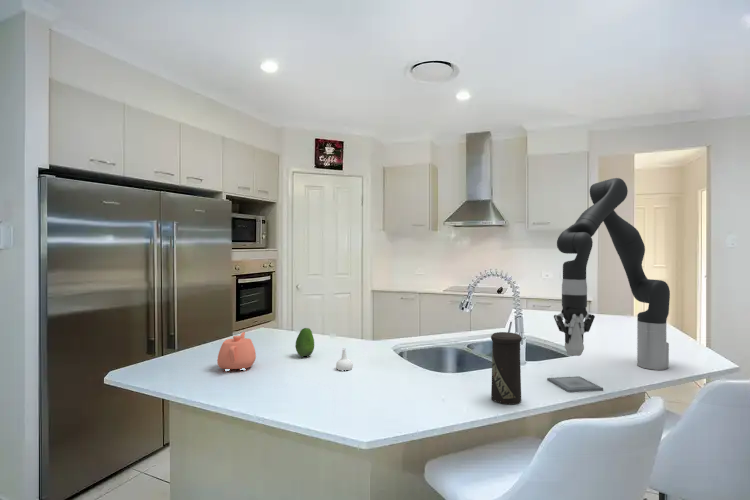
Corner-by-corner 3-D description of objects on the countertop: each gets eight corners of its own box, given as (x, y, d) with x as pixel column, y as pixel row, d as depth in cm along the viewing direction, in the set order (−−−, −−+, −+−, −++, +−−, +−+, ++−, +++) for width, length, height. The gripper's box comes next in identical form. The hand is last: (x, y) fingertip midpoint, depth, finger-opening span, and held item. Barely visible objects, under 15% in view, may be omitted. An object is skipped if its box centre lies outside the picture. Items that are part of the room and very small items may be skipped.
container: (486, 395, 128) (486, 330, 128) (514, 394, 129) (514, 329, 129) (497, 405, 119) (497, 336, 119) (527, 404, 120) (527, 335, 120)
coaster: (579, 378, 144) (579, 376, 144) (603, 390, 132) (603, 387, 132) (547, 380, 142) (547, 377, 142) (568, 392, 130) (568, 389, 130)
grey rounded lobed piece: (586, 357, 134) (586, 316, 134) (567, 356, 135) (567, 316, 135) (580, 352, 139) (581, 313, 139) (562, 351, 141) (562, 313, 140)
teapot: (260, 360, 168) (260, 330, 168) (249, 375, 148) (249, 341, 148) (226, 360, 167) (226, 330, 167) (211, 376, 147) (211, 342, 147)
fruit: (318, 355, 174) (318, 327, 174) (305, 360, 168) (305, 330, 167) (304, 353, 178) (304, 325, 178) (291, 357, 172) (291, 328, 172)
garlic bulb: (355, 370, 155) (357, 349, 156) (343, 372, 151) (345, 350, 151) (344, 367, 160) (345, 346, 160) (332, 369, 155) (333, 347, 156)
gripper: (586, 291, 142) (586, 341, 142) (548, 291, 140) (548, 343, 140) (601, 293, 134) (601, 347, 134) (561, 294, 132) (561, 348, 132)
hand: (574, 344), depth 137 cm, fingers closed on grey rounded lobed piece, 3 cm apart
